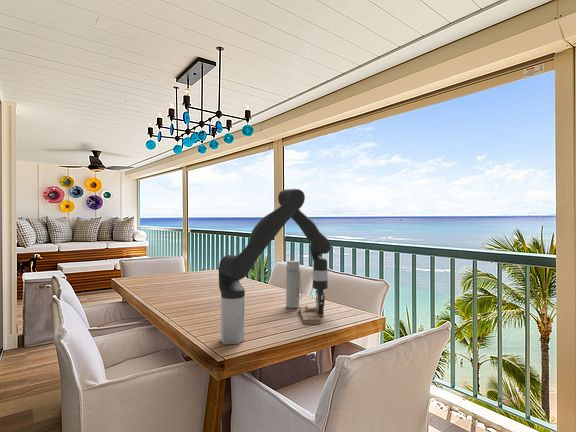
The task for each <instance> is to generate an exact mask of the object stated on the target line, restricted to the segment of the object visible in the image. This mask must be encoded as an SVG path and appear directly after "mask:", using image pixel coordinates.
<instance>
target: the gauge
mask: <svg viewBox="0 0 576 432" xmlns="http://www.w3.org/2000/svg"><path fill="white" fill-rule="evenodd" d="M315 303H316V306H308V305H305V306H304V307H305V311H317V313H318V315H319V307H318V302H317V301H316V300H315ZM320 304H322V302H321V303H320ZM324 308H325V306H324V307H323V314H322V315H319V317H324V315H325V314H324V313H325V309H324Z"/></svg>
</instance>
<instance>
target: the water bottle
mask: <svg viewBox="0 0 576 432" xmlns="http://www.w3.org/2000/svg"><path fill="white" fill-rule="evenodd" d="M300 267H301V266H300V261H299V260H287V261H286V269H285V270H286V272H285V273H286V278H285V279H286V280H285V281H286V284H285V291H286V292H285V299H286V300H285V306H286V308H288V309H297V308H298V309H299V306H300V300H302V299H303V289H302V278H301V273H302V270H300ZM300 293H301V294H300ZM300 295H301V296H300Z"/></svg>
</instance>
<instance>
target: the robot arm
mask: <svg viewBox="0 0 576 432" xmlns="http://www.w3.org/2000/svg"><path fill="white" fill-rule="evenodd" d="M305 197H306V196H305V193H304V191H303V190H301V189H299V188H289V189H288V188H287V189H282V190H281V191H279V193H278V197H277V200H278V204H279V205H280V206H279V207H278V208H276V209H275V210H273V211H271V212H270V213H268V214H266V215H265V216H264V217H263V218H261V219H260V220H259V222H258V223H257V224H256V225H255V226H254V228H253V229H252V230H251V233H250V237H249V241H248V243H247V244H246V246H245V247H244V249H243V250H242V251H241V252H240V253H239V254H237V255H234V254H227V255H225V256H223V257H222V258H221V260H220V261H219V263H218V264H219V265H218V287H219V291H220V342H221V343H222V345H240V343H243V342H244V341H245V300H246V297H245V295H246V291H245V287H243V285H242V284H241V283H240V282H241V281H240V280H243V279H244V278H245V277H246V276H248V274H249V273H250V271H251V269H252V268H253V266H254V264H255V263H256V262H257V260H258V259H259V257H260V256H261V254H263V252H264V251H265V250H266V248H267V247H268V246H269V244H270V243H272V241H273V240H274V238H276V236H277V234H279V232H280V230H281V229H282V228H283V227H284V226H285V225H286V223H287V222H288V221H290V219H292V220H293V221H294V223H296V225H297V227H299V228H300V230H301V231H302V233H303V234H304V236H305V238H306V239H307V240H308V241H309V242H310V245H309V246H310V247H309V249H310V254H311V258H312V264H313V265H312V266H313V267H312V268H313V269H312V270H313V271H312V288H313V289H314V290H315V302H316V301H317V302H318V307H319V315H322V314H323V307H324V308H325V300H326V299H325V297H326V296H325V294H326V293H325V292H324V290H327V289H328V284H329V283H328V281H329V280H328V279H329V278H328V277H329V275H328V260H327V258H324V257H322V255H325V254H329V253H330V252H331V248H332V246H331V242H330V241H329V240H328V238H327V237H326V236H325V235H324V234H322V232H320V230H319V227H317V225H316V224H315V222H314V221H313V220H312V219H311V218H310V217H309V216H307V215H306V214H305V213H304V212H303V211H301V207H303V205H304V203H305V199H306V198H305ZM321 302H322V304H320V303H321Z"/></svg>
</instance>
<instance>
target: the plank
mask: <svg viewBox="0 0 576 432" xmlns="http://www.w3.org/2000/svg"><path fill="white" fill-rule="evenodd" d="M298 313H299V315H300V319H301V321H302V324H303V325H321V324H322V322H321V321H322V320H321V319H322V318H321V316H319V315H318V313H317V311H305V306H300V307H298Z"/></svg>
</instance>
